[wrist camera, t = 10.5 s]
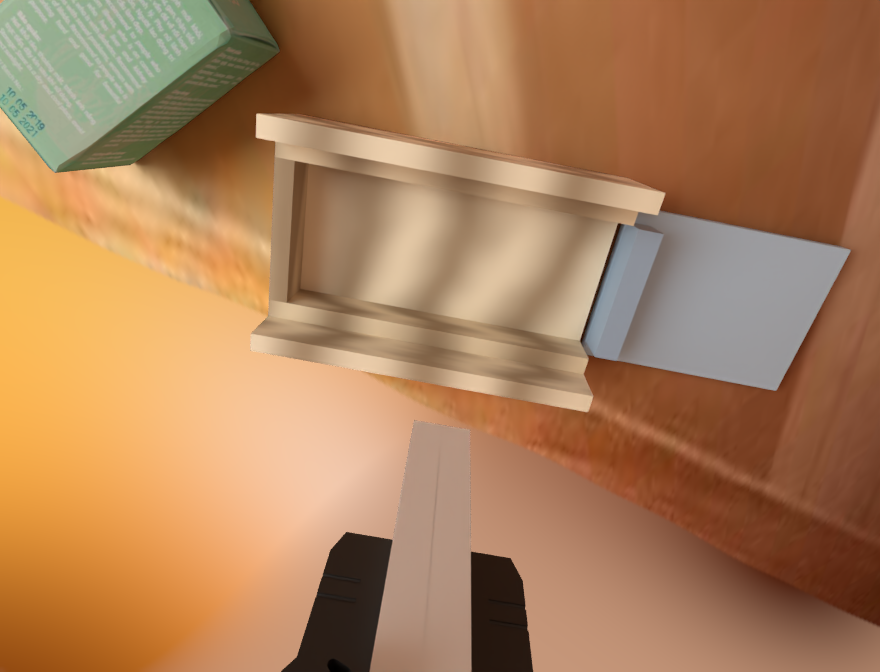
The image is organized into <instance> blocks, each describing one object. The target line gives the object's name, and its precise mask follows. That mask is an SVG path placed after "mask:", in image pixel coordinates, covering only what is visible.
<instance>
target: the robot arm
mask: <svg viewBox="0 0 880 672" xmlns="http://www.w3.org/2000/svg"><path fill="white" fill-rule="evenodd" d="M470 510H471V504H470V430H469V429H462V428H456V427H451V426H446V425H440V424H434V423H428V422H423V421H417V420H414V423H413V429H412V434H411V440H410V445H409V451H408V457H407V462H406V468H405V473H404V479H403V484H402V490H401V495H400V501H399V507H398V512H397V518H396V524H395V529H394V535H393V540H390V539H384V538H379V537H372V536H367V535H361V534H355V533H349V532H346V533H345V534H344V535H343V537H342V538H341V539H340V540H339V541H338V542H337V543H336V544H335V546H334V547H333V548H332V549H331V551H330V553H329V557H328V560H327V563H326V566H325V569H324V573H323V577H322V579H321V582H320V585H319V589H318V592H317V596H316V598H315V601H314V605H313V608H312V611H311V614H310V617H309V621H308V623H307V627H306V630H305V633H304V636H303V639H302V643H301V646H300V649H299V652H298V656H297V658H295V659H294V660H293V661H292V662H291V663H290V664H289V665H288V666H287V667H286V668H284V669H283V670H282V671H281V672H533V668H532V658H531V650H530V641H529V632H528V631H527V626H528V625H527V615H526V610H525V598H524V589H523V581H522V579H521V577H520V575H519V573H518V571H517V569H516V568H515V566H514V564H513V562H512V560H511V558H506V557H499V556H494V555H488V554H482V553H476V552H471V513H470V512H471V511H470Z"/></svg>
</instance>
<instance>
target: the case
mask: <svg viewBox="0 0 880 672" xmlns="http://www.w3.org/2000/svg"><path fill="white" fill-rule="evenodd" d="M256 138H260V139H265V140H270V141H275V163H274V188H273V212H272V237H271V261H270V286H269V311H268V317H267V318H266V319H265V320H264V321H263V322H262V323H261V324H260V325H259V326H258V327H257V328H256V329H255V330H254V331H253V332H252V333H251V346H250V349H251V351H256V352H261V353H267V354H272V355H278V356H283V357H288V358H294V359H300V360H305V361H310V362H316V363H321V364H327V365H332V366H338V367H343V368H349V369H355V370H360V371H365V372H370V373H376V374H381V375H387V376H392V377H398V378H403V379H409V380H414V381H420V382H425V383H431V384H436V385H442V386H447V387H453V388H458V389H464V390H469V391H474V392H480V393H485V394H491V395H496V396H502V397H507V398H513V399H518V400H524V401H529V402H535V403H540V404H546V405H551V406H557V407H562V408H568V409H573V410H578V411H584V412H588V411H589V408H590V405H591V402H592V399H593V394H592V392H591V390H590V387H589V385H588V383H587V381H586V378H585V376H584V372H585V369H586V366H587V363H588V360H589V358H588V356H587V354H586V352H585V350H584V348H583V346H582V344H581V342H580V339H581V336H582V333H583V330H584V326H585V323H586V320H587V317H588V314H589V311H590V308H591V305H592V302H593V299H594V296H595V293H596V289H597V286H598V283H599V280H600V277H601V274H602V271H603V268H604V265H605V262H606V259H607V255H608V252H609V249H610V246H611V243H612V240H613V237H614V234H615V231H616V228H617V225H618V223H621V224H626V225H631V226H634V224H635V221H636V218H637V215H638V212H643V213H648V214H653V215H658V213H659V210H660V208H661V205H662V202H663V199H664V196H665V193H664V192H662V191H659V190H657V189H654V188H652V187H649V186H647V185H644V184H642V183H639V182H637V181H634V180H632V179H629V178H625V177H620V176H615V175H610V174H605V173H600V172H595V171H589V170H584V169H579V168H574V167H569V166H564V165H559V164H554V163H548V162H543V161H538V160H533V159H528V158H523V157H518V156H513V155H507V154H502V153H497V152H492V151H487V150H482V149H477V148H471V147H466V146H461V145H456V144H451V143H446V142H441V141H436V140H430V139H425V138H420V137H415V136H410V135H405V134H400V133H395V132H389V131H384V130H379V129H374V128H369V127H364V126H359V125H353V124H348V123H343V122H338V121H333V120H328V119H323V118H318V117H312V116H307V115H302V114H265V113H256Z"/></svg>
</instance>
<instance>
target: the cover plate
mask: <svg viewBox="0 0 880 672" xmlns="http://www.w3.org/2000/svg"><path fill="white" fill-rule="evenodd" d="M850 251H851V250H849V249H847V248H844V247H841V246H836V245H831V244H826V243H821V242H816V241H811V240H806V239H801V238H796V237H791V236H786V235H781V234H776V233H771V232H766V231H761V230H756V229H751V228H746V227H741V226H736V225H731V224H726V223H721V222H716V221H711V220H706V219H701V218H696V217H691V216H686V215H681V214H676V213H671V212H666V211H661V210H659V213H658V215H653V214H648V213H643V212H638V215H637V218H636V221H635V224H634V226H631V225H626V224H621V226H620V229H619V232H618V235H617V238H616V241H615V244H614V247H613V250H612V253H611V256H610V259H609V262H608V265H607V268H606V271H605V274H604V277H603V280H602V283H601V286H600V289H599V292H598V295H597V298H596V301H595V304H594V307H593V310H592V313H591V316H590V319H589V322H588V325H587V328H586V331H585V334H584V337H583V340H582V343H581V344H582V346H583V348H584V350H585V352H586V354H587V355H591V356H594V357H597V358H603V359H608V360H613V361H622V362H628V363H633V364H638V365H643V366H648V367H654V368H659V369H664V370H669V371H675V372H680V373H685V374H690V375H696V376H701V377H706V378H711V379H717V380H722V381H727V382H732V383H738V384H743V385H748V386H753V387H759V388H764V389H769V390H774V391H776V390H777V388H778V386H779V385H780V383H781V381H782V379H783V377H784V375H785V373H786V371H787V370H788V368H789V366H790V364H791V362H792V360H793V358H794V356H795V355H796V353H797V351H798V349H799V347H800V345H801V343H802V341H803V340H804V338H805V336H806V334H807V332H808V330H809V328H810V326H811V325H812V323H813V321H814V319H815V317H816V315H817V313H818V311H819V310H820V308H821V306H822V304H823V302H824V300H825V298H826V296H827V295H828V293H829V291H830V289H831V287H832V285H833V283H834V281H835V280H836V278H837V276H838V274H839V272H840V270H841V268H842V266H843V265H844V263H845V261H846V259H847V257H848V255H849V253H850Z"/></svg>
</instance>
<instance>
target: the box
mask: <svg viewBox="0 0 880 672" xmlns="http://www.w3.org/2000/svg"><path fill="white" fill-rule="evenodd" d="M279 52H280V50H279V47H278V44H277V43H276V41H275V40H274V38H273V37H272V35H271V34H270V32H269V31H268V29H267V27H266V26H265V24H264V23H263V21H262V20H261V18H260V16H259V15H258V13H257V12H256V10H255V9H254V7H253V6H252V4H251V3H250V1H249V0H4V1H3V2H2V3H1V4H0V108H1V109H2V110H3V111H4V113H5V114H6V115H7V116H8V118H9V119H10V120H11V121H12V122H13V124H14V125H15V126H16V127H17V129H18V130H19V131H20V132H21V133H22V135H23V136H24V137H25V138H26V140H27V141H28V142H29V143H30V144H31V146H32V147H33V148H34V149H35V151H36V152H37V153H38V154H39V156H40V157H41V158H42V159H43V161H44V162H45V163H46V164H47V166H48V167H49V168H50V169H51V170H53V171H54V172H55V173H57V172H67V171H76V170H86V169H95V168H105V167H115V166H124V165H131V164H133V163H134V162H136V161H137V160H139V159H141V158H142V157H143V156H144V155H146V154H147V153H148V152H150V151H151V150H152V149H153V148H155V147H156V146H157V145H159V144H160V143H161V142H163V141H164V140H165V139H167V138H168V137H170V136H171V135H172V134H174V133H175V132H177V131H178V130H179V129H181V128H182V127H183V126H185V125H186V124H187V123H189V122H190V121H191V120H192V119H194V118H195V117H196V116H198V115H199V114H200V113H201V112H203V111H204V110H205V109H207V108H208V107H209V106H210V105H212V104H213V103H214V102H216V101H217V100H218V99H219V98H221V97H222V96H223V95H225V94H226V93H227V92H228V91H230V90H231V89H232V88H233V87H235V86H236V85H237V84H238V83H240V82H241V81H242V80H243V79H245V78H246V77H247V76H249V75H250V74H251V73H253V72H254V71H255V70H257V69H258V68H259V67H261V66H262V65H263V64H265V63H266V62H267V61H268V60H270V59H271V58H272V57H274V56H275V55H276V54H277V53H279Z"/></svg>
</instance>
